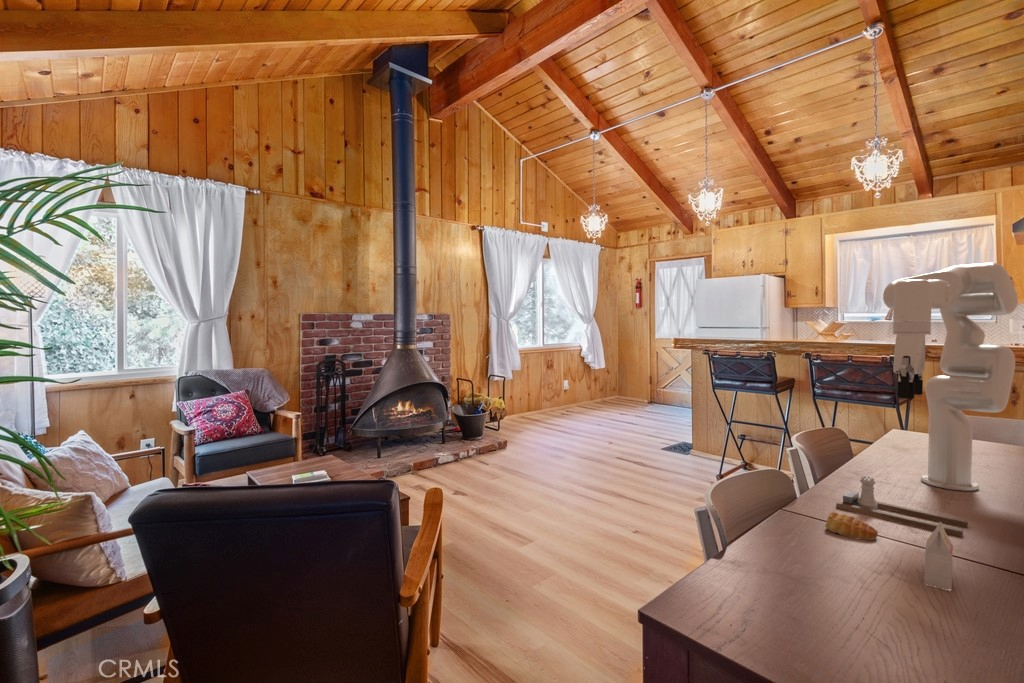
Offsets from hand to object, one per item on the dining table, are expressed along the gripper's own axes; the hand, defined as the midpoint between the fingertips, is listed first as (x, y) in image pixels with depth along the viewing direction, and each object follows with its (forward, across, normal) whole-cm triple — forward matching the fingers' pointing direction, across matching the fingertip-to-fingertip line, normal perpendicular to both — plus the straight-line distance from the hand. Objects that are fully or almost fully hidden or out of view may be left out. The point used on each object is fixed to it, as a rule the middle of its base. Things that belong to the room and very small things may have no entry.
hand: (910, 396), depth 128 cm
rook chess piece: (+28, +10, -6) cm, 31 cm away
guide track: (+28, +10, 0) cm, 30 cm away
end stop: (+28, +10, -10) cm, 32 cm away
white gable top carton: (+29, +42, +12) cm, 52 cm away
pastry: (+29, +29, -6) cm, 41 cm away
